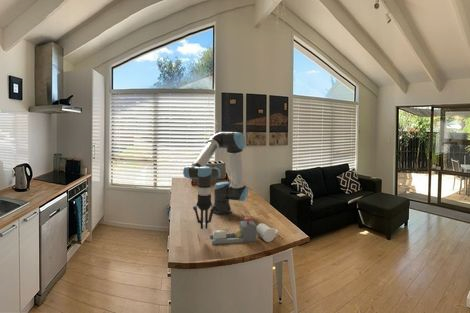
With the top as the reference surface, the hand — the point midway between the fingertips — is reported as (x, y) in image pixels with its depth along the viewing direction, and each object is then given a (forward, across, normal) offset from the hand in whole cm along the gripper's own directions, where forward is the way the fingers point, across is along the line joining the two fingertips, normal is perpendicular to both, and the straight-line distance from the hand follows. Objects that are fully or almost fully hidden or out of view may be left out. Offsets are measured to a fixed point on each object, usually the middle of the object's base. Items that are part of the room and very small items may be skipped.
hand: (203, 234), depth 155 cm
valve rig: (+5, +17, 0) cm, 18 cm away
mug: (+6, +39, +1) cm, 39 cm away
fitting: (+4, +9, 0) cm, 10 cm away
